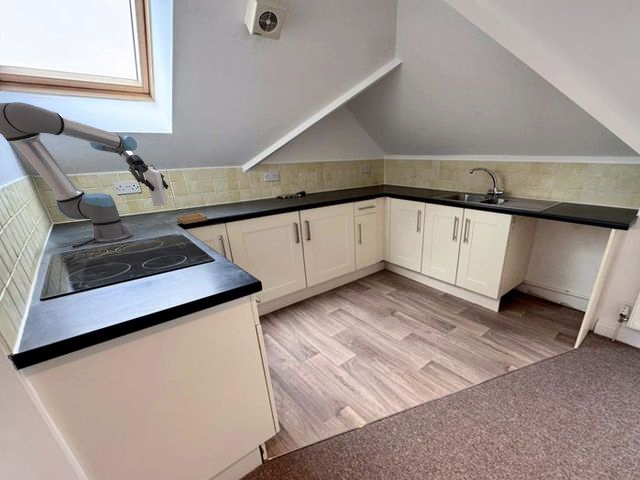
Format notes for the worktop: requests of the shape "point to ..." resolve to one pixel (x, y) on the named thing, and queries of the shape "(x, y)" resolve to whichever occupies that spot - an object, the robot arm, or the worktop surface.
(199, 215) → the tray
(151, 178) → the milk
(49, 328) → the worktop surface
